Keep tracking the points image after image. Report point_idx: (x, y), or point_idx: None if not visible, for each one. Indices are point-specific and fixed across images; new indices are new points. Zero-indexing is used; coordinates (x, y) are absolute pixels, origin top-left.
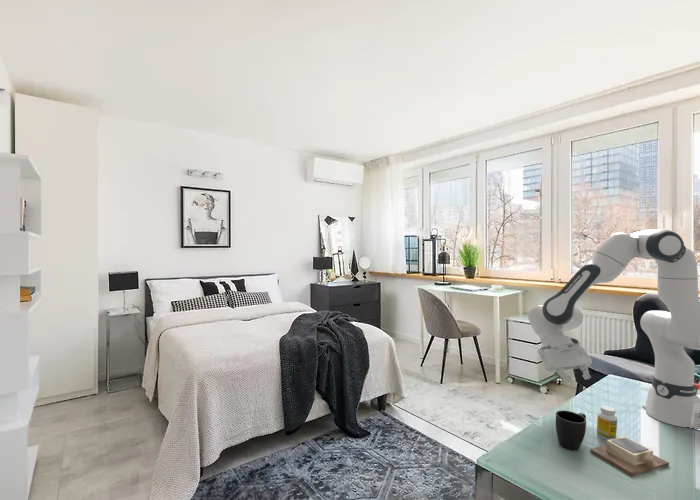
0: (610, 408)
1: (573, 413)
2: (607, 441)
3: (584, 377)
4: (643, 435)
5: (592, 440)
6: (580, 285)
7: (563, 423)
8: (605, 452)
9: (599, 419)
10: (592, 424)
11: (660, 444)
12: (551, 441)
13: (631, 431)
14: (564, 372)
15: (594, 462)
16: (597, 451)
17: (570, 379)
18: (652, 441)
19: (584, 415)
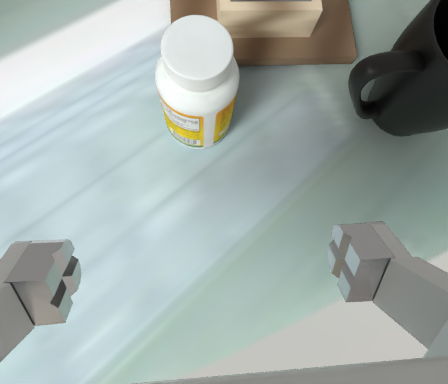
0: (184, 40)
1: (445, 61)
2: (321, 9)
3: (68, 289)
4: (37, 87)
5: (280, 112)
6: None
7: None
8: (324, 28)
9: (236, 94)
10: (164, 204)
11: (47, 31)
12: (439, 144)
13: (52, 120)
14: (445, 291)
15: (385, 22)
16: (346, 39)
17: (358, 224)
18: (53, 51)
19: (376, 54)
